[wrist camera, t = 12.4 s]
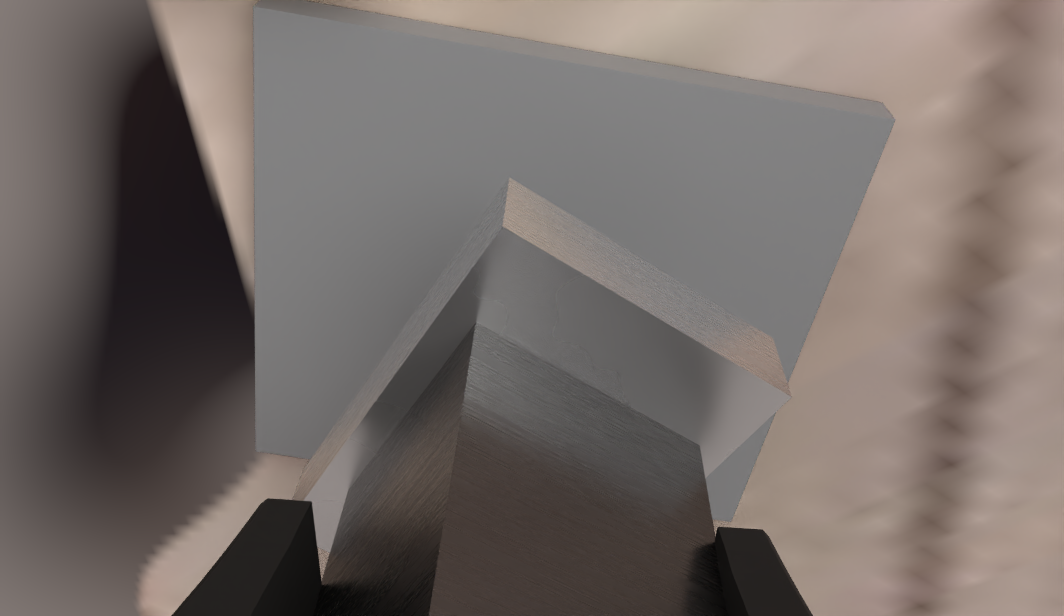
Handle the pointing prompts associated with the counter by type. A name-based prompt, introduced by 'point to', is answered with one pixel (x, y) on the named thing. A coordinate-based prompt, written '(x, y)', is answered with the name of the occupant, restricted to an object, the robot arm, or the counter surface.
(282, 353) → the slate board
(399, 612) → the metal post with plate
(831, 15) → the counter surface
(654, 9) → the counter surface
